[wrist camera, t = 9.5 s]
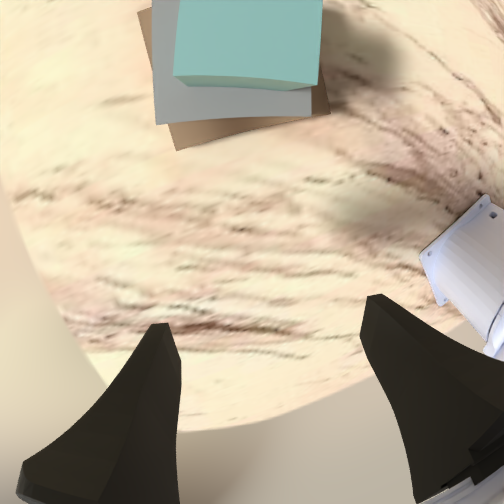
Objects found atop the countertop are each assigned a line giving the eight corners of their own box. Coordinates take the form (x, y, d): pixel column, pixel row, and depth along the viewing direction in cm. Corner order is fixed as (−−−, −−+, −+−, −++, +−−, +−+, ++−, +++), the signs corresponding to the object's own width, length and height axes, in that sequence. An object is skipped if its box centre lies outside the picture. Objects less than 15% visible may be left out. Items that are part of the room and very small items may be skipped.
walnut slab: (285, -10, 13) (293, -22, 11) (318, 112, 17) (330, 113, 15) (145, 21, 13) (137, 12, 11) (181, 146, 17) (176, 151, 16)
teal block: (289, 10, 11) (323, -28, 6) (283, 91, 13) (317, 85, 8) (195, 3, 10) (186, -41, 6) (188, 86, 12) (172, 76, 8)
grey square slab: (295, -3, 12) (305, -16, 10) (299, 115, 15) (311, 116, 13) (160, 2, 11) (152, -11, 9) (164, 122, 15) (156, 125, 13)
